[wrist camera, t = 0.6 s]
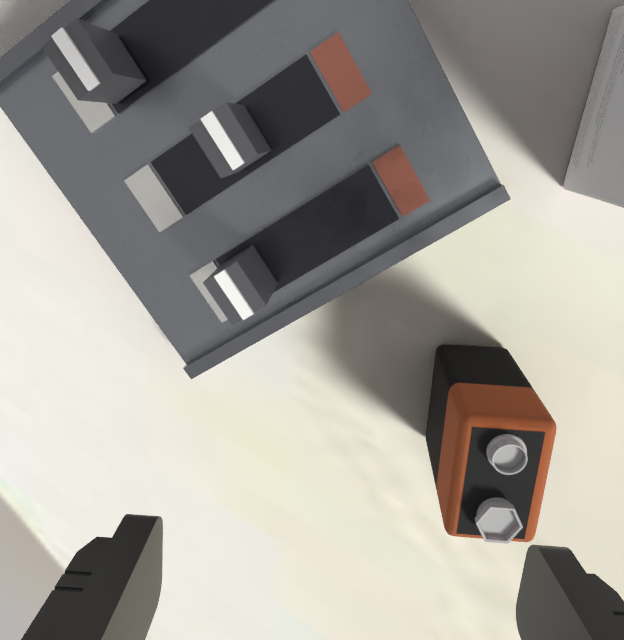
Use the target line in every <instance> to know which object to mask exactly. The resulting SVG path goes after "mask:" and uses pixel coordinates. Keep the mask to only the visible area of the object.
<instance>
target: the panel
mask: <svg viewBox="0 0 624 640" xmlns="http://www.w3.org/2000/svg"><path fill="white" fill-rule="evenodd" d="M76 18H77V19H80V20H83V21H85V22H88V23H91V24H93V25H96V26H98V27H101V28H104V29H106V30H109V31H112V32H114V33H116V34H117V35H118V37H119V39H120V40H121V42H122V43H123V45H124V46H125V48H126V49H127V51H128V52H129V54H130V56H131V57H132V59H133V60H134V62H135V63H136V65H137V66H138V68H139V69H140V71H141V73H142V74H143V76H144V77H145V79H146V80H147V81H146V82H145V83H143V84H142V85H141V86H139V87H138V88H137V89H135V90H134V91H132V92H131V93H130V94H128V95H127V96H126V97H124V98H123V99H122V100H120V101H119V102H118V103H116V104H112V103H102V102H91V101H80V100H77V98H76V97H75V95H74V94H73V92H72V91H71V89H70V88H69V86H68V85H67V84H66V82H65V81H64V79H63V78H62V76H61V75H60V73H59V72H58V70H57V69H56V67H55V66H54V65H53V63H52V62H51V60H50V59H49V57H48V56H47V54H46V53H45V51H44V50H43V48H42V47H41V46H43V45H44V44H45V43H46V42H48V41H49V40H50V39H51V38H52V37H51V36H52V35H53V34H54V33H55V32H57V31H58V30H59V29H60V28H65V27H66V26H67V25H69V24H70V23H71V22H72V21H74V20H75V19H76ZM225 102H229V103H234V104H240V105H244V106H245V107H246V109H247V111H248V112H249V114H250V116H251V117H252V119H253V121H254V122H255V124H256V125H257V127H258V129H259V130H260V132H261V134H262V135H263V137H264V139H265V140H266V142H267V144H268V145H269V147H270V148H271V150H272V151H270V152H268V153H267V154H265V155H264V156H262V157H261V158H259V159H258V160H256V161H255V162H253V163H252V164H250V165H249V166H247V167H246V168H244V169H243V170H241V171H240V172H237V173H234V174H232V175H229V176H226V177H224V178H220V176H219V175H218V173H217V172H216V170H215V169H214V167H213V165H212V164H211V162H210V161H209V159H208V158H207V156H206V154H205V153H204V151H203V150H202V148H201V147H200V145H199V144H198V142H197V140H196V139H195V137H194V136H193V134H192V133H191V131H190V130H189V127H191V126H192V125H194V124H195V123H197V122H198V121H199V120H201V118H202V117H204V116H205V115H207V114H208V113H210V112H211V111H214V110H215V109H217V108H218V107H219V106H221V105H222V104H224V103H225ZM0 107H1V108H2V110H3V111H4V112H5V114H6V115H7V116H8V118H9V119H10V121H11V122H12V123H13V125H14V126H15V128H16V129H17V130H18V132H19V133H20V134H21V136H22V137H23V139H24V140H25V141H26V143H27V144H28V146H29V147H30V148H31V150H32V151H33V152H34V154H35V155H36V157H37V158H38V159H39V161H40V162H41V164H42V165H43V166H44V168H45V169H46V170H47V172H48V173H49V175H50V176H51V177H52V179H53V180H54V182H55V183H56V184H57V186H58V187H59V188H60V190H61V191H62V193H63V194H64V195H65V197H66V198H67V200H68V201H69V202H70V204H71V205H72V206H73V208H74V209H75V211H76V212H77V213H78V215H79V216H80V218H81V219H82V220H83V222H84V223H85V224H86V226H87V227H88V229H89V230H90V231H91V233H92V234H93V236H94V237H95V238H96V240H97V241H98V243H99V244H100V245H101V247H102V248H103V249H104V251H105V252H106V254H107V255H108V256H109V258H110V259H111V261H112V262H113V263H114V265H115V266H116V267H117V269H118V270H119V272H120V273H121V274H122V276H123V277H124V279H125V280H126V281H127V283H128V284H129V285H130V287H131V288H132V290H133V291H134V292H135V294H136V295H137V297H138V298H139V299H140V301H141V302H142V303H143V305H144V306H145V308H146V309H147V310H148V312H149V313H150V315H151V316H152V317H153V319H154V320H155V321H156V323H157V324H158V326H159V327H160V328H161V330H162V331H163V333H164V334H165V335H166V337H167V338H168V339H169V341H170V342H171V344H172V345H173V346H174V348H175V349H176V351H177V352H178V353H179V355H180V356H181V357H182V359H183V360H184V362H185V363H186V365H185V367H184V368H183V369H184V370H185V371H186V373H187V374H188V375H189V377H190V378H191V379H193V378H194V377H196V376H198V375H200V374H201V373H203V372H205V371H207V370H209V369H210V368H212V367H214V366H216V365H217V364H219V363H221V362H223V361H224V360H226V359H228V358H230V357H232V356H233V355H235V354H237V353H239V352H240V351H242V350H244V349H246V348H248V347H249V346H251V345H253V344H255V343H256V342H258V341H260V340H262V339H263V338H265V337H267V336H269V335H271V334H272V333H274V332H276V331H278V330H279V329H281V328H283V327H285V326H287V325H288V324H290V323H292V322H294V321H295V320H297V319H299V318H301V317H303V316H304V315H306V314H308V313H310V312H311V311H313V310H315V309H317V308H318V307H320V306H322V305H324V304H326V303H327V302H329V301H331V300H333V299H334V298H336V297H338V296H340V295H342V294H343V293H345V292H347V291H349V290H350V289H352V288H354V287H356V286H358V285H359V284H361V283H363V282H365V281H366V280H368V279H370V278H372V277H373V276H375V275H377V274H379V273H381V272H382V271H384V270H386V269H388V268H389V267H391V266H393V265H395V264H397V263H398V262H400V261H402V260H404V259H405V258H407V257H409V256H411V255H412V254H414V253H416V252H418V251H420V250H421V249H423V248H425V247H427V246H428V245H430V244H432V243H434V242H436V241H437V240H439V239H441V238H443V237H444V236H446V235H448V234H450V233H452V232H453V231H455V230H457V229H459V228H460V227H462V226H464V225H466V224H467V223H469V222H471V221H473V220H475V219H476V218H478V217H480V216H482V215H483V214H485V213H487V212H489V211H491V210H492V209H494V208H496V207H498V206H499V205H501V204H503V203H505V202H506V201H508V200H510V197H509V195H508V193H507V191H506V189H505V187H504V185H502V184H501V183H500V181H499V180H498V178H497V176H496V174H495V172H494V170H493V168H492V166H491V164H490V162H489V160H488V158H487V156H486V154H485V152H484V150H483V148H482V146H481V144H480V142H479V140H478V138H477V136H476V134H475V132H474V130H473V128H472V126H471V124H470V122H469V120H468V118H467V116H466V114H465V112H464V110H463V109H462V107H461V105H460V103H459V101H458V99H457V97H456V95H455V93H454V91H453V89H452V87H451V85H450V83H449V81H448V79H447V77H446V75H445V73H444V71H443V69H442V67H441V65H440V63H439V61H438V59H437V57H436V55H435V53H434V51H433V49H432V47H431V45H430V43H429V41H428V39H427V37H426V36H425V34H424V32H423V30H422V28H421V26H420V24H419V22H418V20H417V18H416V16H415V14H414V12H413V10H412V8H411V6H410V4H409V2H408V0H71V1H70V2H69V3H67V4H66V5H65V6H64V7H62V8H61V9H60V10H59V11H57V12H56V13H55V14H54V15H53V16H51V17H50V18H49V19H48V20H46V21H45V22H44V23H43V24H42V25H40V26H39V27H38V28H37V29H35V30H34V31H33V32H32V33H31V34H29V35H28V36H27V37H26V38H24V39H23V40H22V41H21V42H20V43H18V44H17V45H16V46H15V47H13V48H12V49H11V50H10V51H9V52H7V53H6V54H5V55H4V56H2V57H1V58H0ZM251 245H253V246H254V247H255V249H256V251H257V252H258V254H259V255H260V257H261V258H262V260H263V261H264V263H265V265H266V266H267V268H268V269H269V271H270V272H271V274H272V275H273V277H274V278H275V280H276V282H277V283H278V284H277V286H276V288H275V290H274V292H273V294H272V296H271V298H270V300H269V302H268V304H267V305H266V306H265V307H263V308H262V309H260V310H258V311H257V312H255V313H254V314H253V315H251V316H249V317H248V318H246V319H244V320H241V321H239V322H238V323H236V324H234V325H231V323H230V322H229V320H228V319H227V317H226V316H225V315H224V313H223V312H222V310H221V309H220V307H219V306H218V304H217V303H216V301H215V300H214V298H213V297H212V296H211V294H210V293H209V291H208V290H207V288H206V287H205V285H204V284H203V282H204V281H205V280H206V279H207V278H208V277H209V276H210V275H211V274H212V273H213V272H214V271H215V270H216V269H217V268H218V267H219V266H220V265H221V264H222V263H224V262H225V261H227V260H228V259H230V258H232V257H233V256H235V255H237V254H238V253H240V252H241V251H243V250H245V249H246V248H248V247H250V246H251Z"/></svg>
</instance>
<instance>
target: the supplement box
mask: <svg viewBox="0 0 624 640" xmlns="http://www.w3.org/2000/svg"><path fill="white" fill-rule="evenodd" d="M563 187H564V189H566V190H569V191H572V192H575V193H579V194H582V195H585V196H588V197H592V198H595V199H598V200H601V201H604V202H607V203H611V204H614V205H617V206H620V207H623V208H624V5H621V6H619V7H617V8H615V9H614V10H613V11H612V15H611V18H610V22H609V25H608V28H607V32H606V35H605V39H604V42H603V46H602V50H601V53H600V57H599V60H598V64H597V67H596V71H595V74H594V78H593V81H592V85H591V88H590V92H589V95H588V99H587V102H586V106H585V109H584V113H583V116H582V120H581V123H580V127H579V130H578V134H577V137H576V141H575V144H574V148H573V151H572V155H571V158H570V162H569V165H568V169H567V172H566V177H565V181H564V186H563Z"/></svg>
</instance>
